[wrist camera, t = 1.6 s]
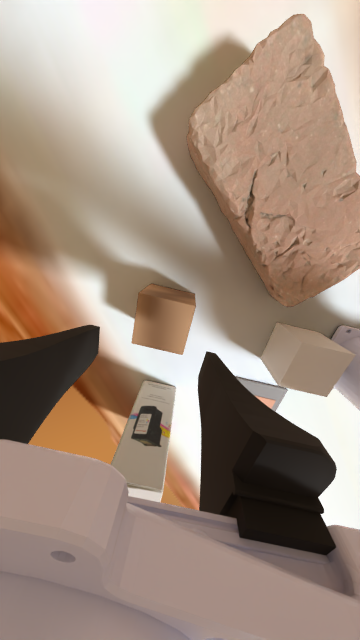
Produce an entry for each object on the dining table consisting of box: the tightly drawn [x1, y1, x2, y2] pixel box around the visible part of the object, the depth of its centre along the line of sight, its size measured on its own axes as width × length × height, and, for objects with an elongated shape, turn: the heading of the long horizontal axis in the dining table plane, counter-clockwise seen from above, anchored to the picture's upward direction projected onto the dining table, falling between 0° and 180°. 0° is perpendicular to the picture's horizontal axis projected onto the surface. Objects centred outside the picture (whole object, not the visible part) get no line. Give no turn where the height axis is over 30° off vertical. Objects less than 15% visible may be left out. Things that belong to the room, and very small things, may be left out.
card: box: [236, 377, 288, 411], centre depth 25 cm, size 7×10×1 cm
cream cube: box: [260, 322, 356, 397], centre depth 19 cm, size 5×5×5 cm
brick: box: [187, 14, 360, 307], centre depth 14 cm, size 17×8×5 cm, turn 36°
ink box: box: [111, 380, 176, 502], centre depth 20 cm, size 9×5×12 cm, turn 168°
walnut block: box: [132, 284, 196, 355], centre depth 18 cm, size 5×5×5 cm
